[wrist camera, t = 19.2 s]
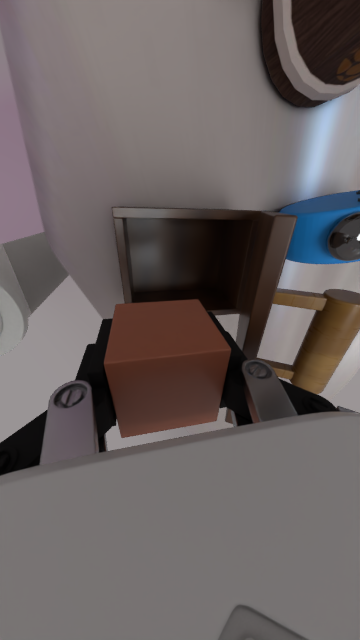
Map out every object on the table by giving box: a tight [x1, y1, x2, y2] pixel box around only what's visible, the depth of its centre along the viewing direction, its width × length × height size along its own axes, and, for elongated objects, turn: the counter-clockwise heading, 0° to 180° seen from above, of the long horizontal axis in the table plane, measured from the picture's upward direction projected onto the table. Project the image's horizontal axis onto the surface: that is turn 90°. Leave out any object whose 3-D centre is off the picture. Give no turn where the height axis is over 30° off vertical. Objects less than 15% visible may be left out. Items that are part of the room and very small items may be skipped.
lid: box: [225, 211, 360, 424], centre depth 16 cm, size 17×13×5 cm
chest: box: [112, 207, 261, 316], centre depth 27 cm, size 16×13×9 cm
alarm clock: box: [279, 190, 360, 264], centre depth 25 cm, size 13×6×15 cm, turn 103°
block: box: [104, 299, 231, 438], centre depth 9 cm, size 4×4×4 cm
